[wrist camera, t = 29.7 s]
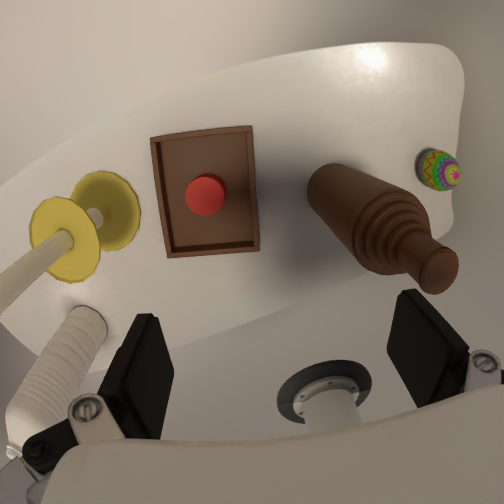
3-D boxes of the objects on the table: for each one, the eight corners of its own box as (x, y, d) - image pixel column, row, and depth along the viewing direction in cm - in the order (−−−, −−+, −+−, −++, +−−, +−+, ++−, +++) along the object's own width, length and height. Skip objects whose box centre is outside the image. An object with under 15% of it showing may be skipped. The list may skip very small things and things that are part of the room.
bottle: (359, 216, 33) (466, 313, 15) (307, 219, 33) (383, 332, 14) (360, 163, 31) (489, 215, 12) (306, 164, 31) (401, 218, 12)
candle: (75, 250, 33) (-59, 398, 9) (66, 173, 29) (-121, 271, 5) (144, 252, 34) (29, 450, 9) (138, 168, 30) (-68, 290, 5)
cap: (224, 171, 30) (223, 175, 28) (227, 207, 32) (226, 213, 29) (187, 175, 30) (182, 179, 28) (191, 210, 32) (187, 217, 29)
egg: (414, 188, 32) (442, 200, 27) (410, 150, 30) (439, 156, 25) (442, 183, 32) (471, 194, 26) (440, 146, 30) (469, 152, 24)
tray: (258, 243, 34) (260, 251, 32) (171, 250, 34) (167, 258, 32) (250, 126, 29) (251, 125, 27) (155, 137, 29) (149, 137, 27)
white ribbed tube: (116, 334, 39) (53, 481, 16) (87, 344, 40) (25, 474, 17) (81, 286, 35) (-17, 425, 13) (55, 300, 36) (-34, 424, 13)
